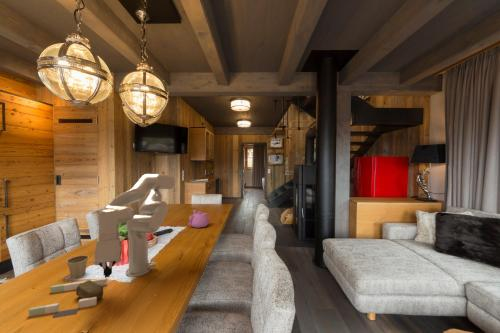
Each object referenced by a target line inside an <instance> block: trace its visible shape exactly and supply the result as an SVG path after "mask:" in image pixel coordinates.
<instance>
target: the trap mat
mask: <svg viewBox="0 0 500 333" xmlns="http://www.w3.org/2000/svg"><path fill="white" fill-rule="evenodd" d="M80 309H81V308H79V307H77V308H70V309H67V310H66V309H65V310H59V311H58V312H54V314H53V315H52V318H53V319H56V318H62V317H68V316H73V315H74V316H75V315H77V314H78V312H79V310H80Z"/></svg>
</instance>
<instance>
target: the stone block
mask: <svg viewBox="0 0 500 333" xmlns="http://www.w3.org/2000/svg"><path fill="white" fill-rule="evenodd" d="M91 280H92V279H90V280H89V279H88V280H85V281H86V282H84V283H81V284H79V286H78V287H77V290H75V291H76V292H75V295H76V296H77V297H79V298H80V299H85V298H91V297H97V301H98V300H99V299H100V298H103V296H104V286H100V285H99V284H97V283H95V282H92V281H91Z"/></svg>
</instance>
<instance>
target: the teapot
mask: <svg viewBox="0 0 500 333" xmlns="http://www.w3.org/2000/svg"><path fill="white" fill-rule="evenodd" d="M188 220H189V222H188V226H191V227H193V228H197V229H200V228H205V227H207V226H208V224H209V223H210V222H211V220H210V214H209V212H208V213H207V212H202V210H201V211H196V210H195V209H193V215H189V219H188Z"/></svg>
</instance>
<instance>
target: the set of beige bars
mask: <svg viewBox="0 0 500 333" xmlns="http://www.w3.org/2000/svg"><path fill="white" fill-rule="evenodd" d="M90 280H91V281H92V282H95V283H97V284H99V285H100V286H102V287H104V286H107V285H108V277H106V278H105V277H103V278H97V279H90ZM86 281H87V280H81V281H73V282H71V283H70V282H69V283H68V282H67V283H63V284H55V285H51V286H50V294H54V293H55V294H56V293H64V292H69V291H70V292H71V291H76V290H77V287H78V286H79V284H81V283H84V282H86ZM97 301H98V300H97V297H91V298H85V299H83V298H80V299H79V300H78V308H80V309H83V308H88V307H93V306H96V305H97V303H98V302H97ZM59 311H60V302H57V303H52V304H46V305H40V306H34V307H30V308H29V309H28V317H29V318H30V317H35V316H42V315H46V314H52V313H54V314H55V313H56V312H59Z"/></svg>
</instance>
